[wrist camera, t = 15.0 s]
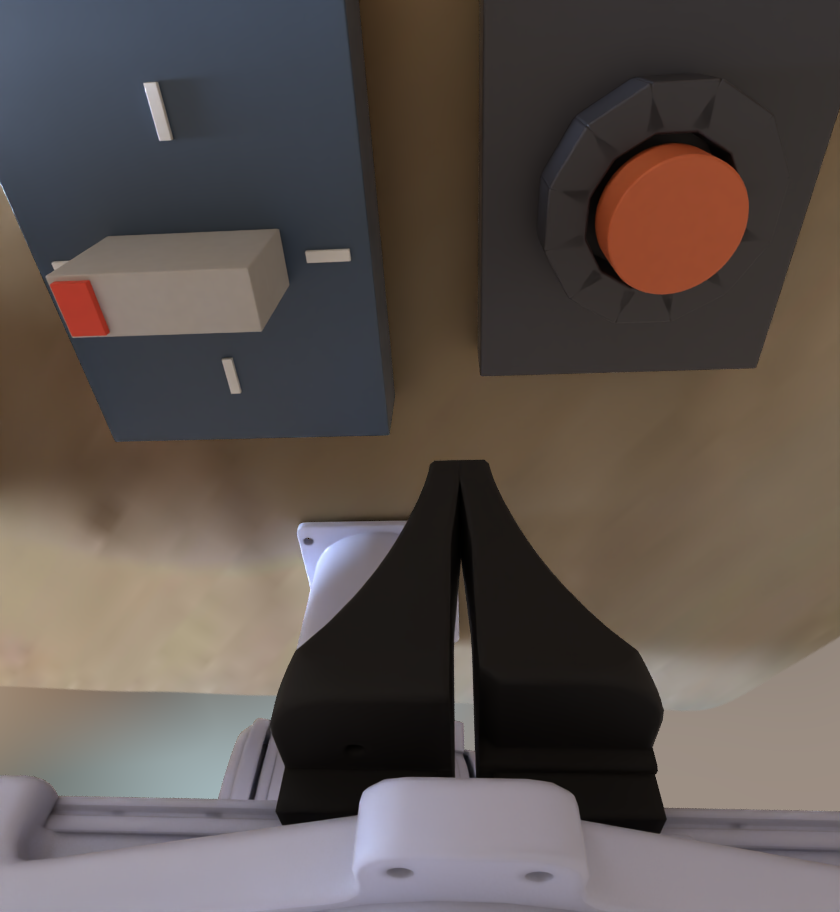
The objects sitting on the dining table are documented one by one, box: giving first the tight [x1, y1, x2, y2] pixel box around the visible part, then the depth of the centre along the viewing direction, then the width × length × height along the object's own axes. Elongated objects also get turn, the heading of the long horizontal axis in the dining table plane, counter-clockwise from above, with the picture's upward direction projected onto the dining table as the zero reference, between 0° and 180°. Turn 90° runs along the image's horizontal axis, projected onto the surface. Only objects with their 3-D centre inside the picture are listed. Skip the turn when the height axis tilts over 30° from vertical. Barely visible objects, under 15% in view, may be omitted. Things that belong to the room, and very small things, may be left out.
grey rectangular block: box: [46, 229, 289, 338], centre depth 17 cm, size 6×2×4 cm, turn 93°
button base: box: [478, 0, 840, 376], centre depth 18 cm, size 12×10×4 cm
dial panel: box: [0, 0, 395, 442], centre depth 20 cm, size 14×11×3 cm
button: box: [595, 143, 749, 294], centre depth 16 cm, size 4×4×2 cm
